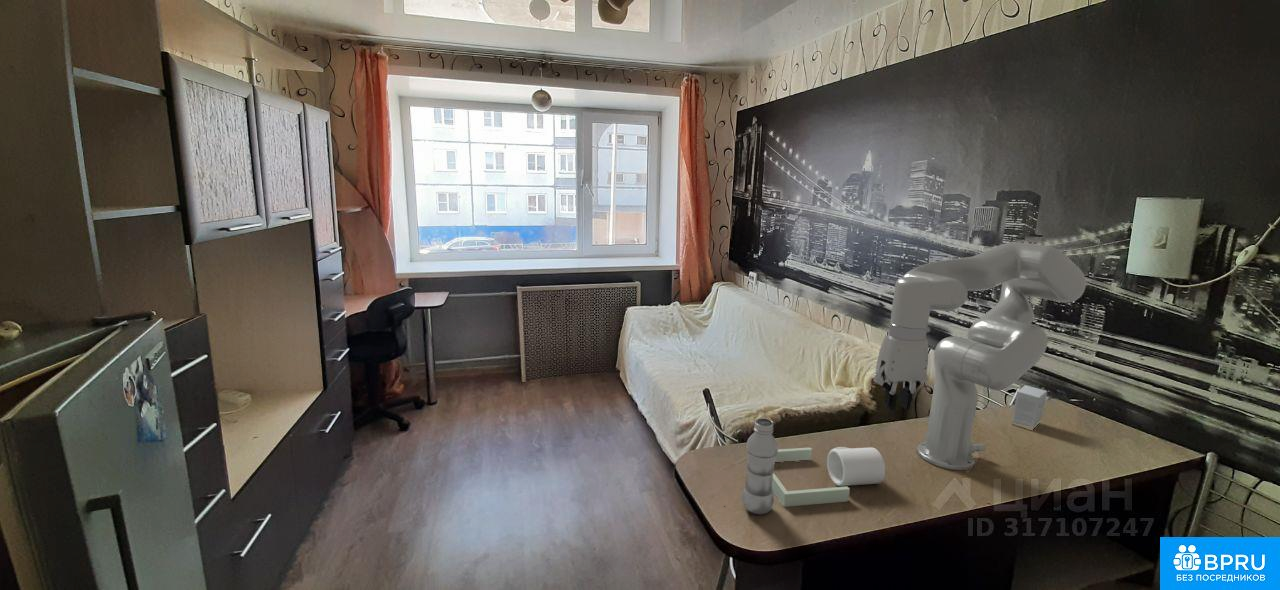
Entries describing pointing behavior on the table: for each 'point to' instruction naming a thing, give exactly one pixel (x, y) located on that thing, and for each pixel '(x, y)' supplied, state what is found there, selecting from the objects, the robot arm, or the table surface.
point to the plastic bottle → (760, 468)
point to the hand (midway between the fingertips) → (896, 407)
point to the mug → (855, 466)
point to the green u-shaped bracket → (805, 495)
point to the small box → (1029, 406)
